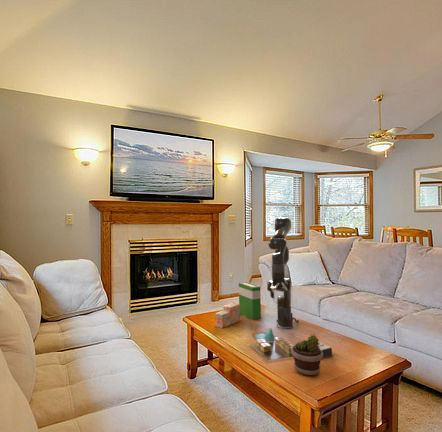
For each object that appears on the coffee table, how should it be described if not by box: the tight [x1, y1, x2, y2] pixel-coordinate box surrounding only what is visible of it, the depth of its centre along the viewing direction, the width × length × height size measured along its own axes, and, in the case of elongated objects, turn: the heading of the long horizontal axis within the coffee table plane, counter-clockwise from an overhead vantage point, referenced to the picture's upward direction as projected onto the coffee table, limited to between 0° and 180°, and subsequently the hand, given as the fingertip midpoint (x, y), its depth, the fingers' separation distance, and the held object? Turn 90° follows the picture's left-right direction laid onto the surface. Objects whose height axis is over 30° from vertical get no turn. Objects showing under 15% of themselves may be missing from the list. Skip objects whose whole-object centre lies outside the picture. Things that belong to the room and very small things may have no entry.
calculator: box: [297, 340, 333, 358], centre depth 170 cm, size 11×4×15 cm
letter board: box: [251, 336, 294, 361], centre depth 171 cm, size 22×20×4 cm
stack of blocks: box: [214, 302, 241, 329], centre depth 217 cm, size 21×6×12 cm, turn 136°
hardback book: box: [238, 281, 262, 321], centre depth 233 cm, size 18×7×24 cm, turn 26°
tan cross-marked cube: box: [284, 343, 294, 354], centre depth 168 cm, size 4×4×3 cm
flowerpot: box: [290, 333, 324, 377], centre depth 148 cm, size 14×15×20 cm
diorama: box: [254, 327, 275, 342], centre depth 189 cm, size 12×20×9 cm, turn 25°
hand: (278, 297), depth 184 cm, fingers open, 8 cm apart
